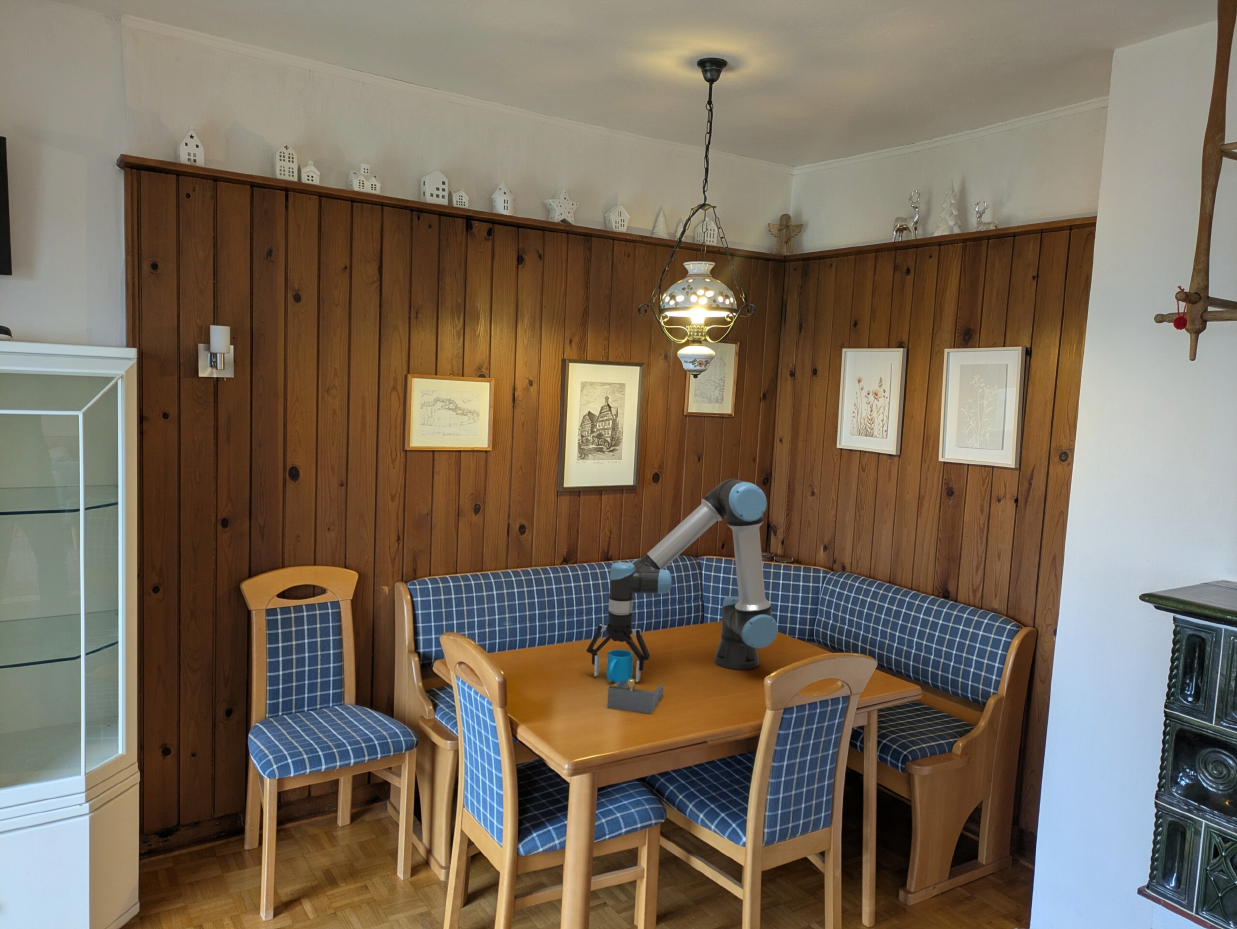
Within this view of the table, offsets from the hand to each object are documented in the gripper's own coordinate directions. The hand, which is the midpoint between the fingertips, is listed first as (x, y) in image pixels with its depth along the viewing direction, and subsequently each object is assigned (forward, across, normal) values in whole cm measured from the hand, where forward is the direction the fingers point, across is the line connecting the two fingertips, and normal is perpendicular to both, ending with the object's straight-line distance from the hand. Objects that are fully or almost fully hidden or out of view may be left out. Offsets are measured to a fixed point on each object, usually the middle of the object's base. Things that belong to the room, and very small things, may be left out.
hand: (616, 677), depth 278 cm
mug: (+1, 0, 0) cm, 1 cm away
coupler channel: (+1, -10, +16) cm, 19 cm away
